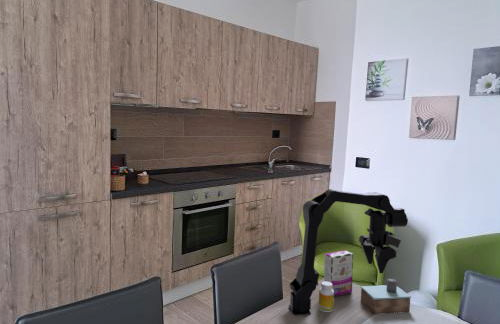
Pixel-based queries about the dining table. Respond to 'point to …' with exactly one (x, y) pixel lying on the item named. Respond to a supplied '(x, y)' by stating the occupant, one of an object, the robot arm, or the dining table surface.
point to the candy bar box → (339, 271)
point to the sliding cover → (386, 291)
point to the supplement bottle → (326, 297)
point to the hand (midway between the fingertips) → (375, 268)
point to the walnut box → (385, 304)
